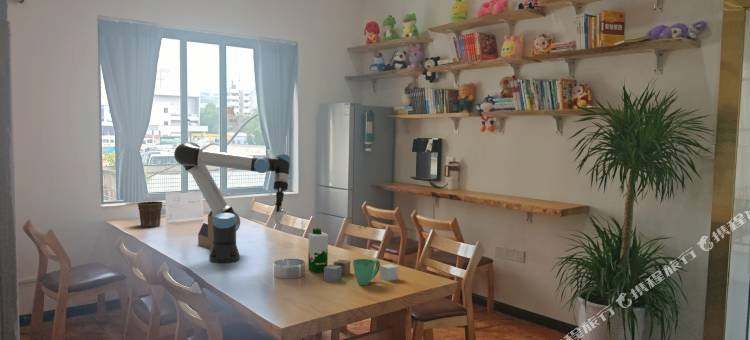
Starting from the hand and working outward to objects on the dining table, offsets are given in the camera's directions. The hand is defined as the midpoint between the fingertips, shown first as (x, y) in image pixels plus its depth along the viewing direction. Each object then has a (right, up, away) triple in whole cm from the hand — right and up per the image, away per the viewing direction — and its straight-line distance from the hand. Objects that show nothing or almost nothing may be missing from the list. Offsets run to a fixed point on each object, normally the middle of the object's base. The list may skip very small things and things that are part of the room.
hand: (277, 221), depth 282 cm
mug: (+48, -24, -41) cm, 67 cm away
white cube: (+58, -24, -34) cm, 71 cm away
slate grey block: (+32, -23, -38) cm, 55 cm away
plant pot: (-103, -12, +87) cm, 136 cm away
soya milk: (+24, -22, -23) cm, 40 cm away
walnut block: (+36, -22, -27) cm, 50 cm away
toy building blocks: (-41, -17, +28) cm, 52 cm away
